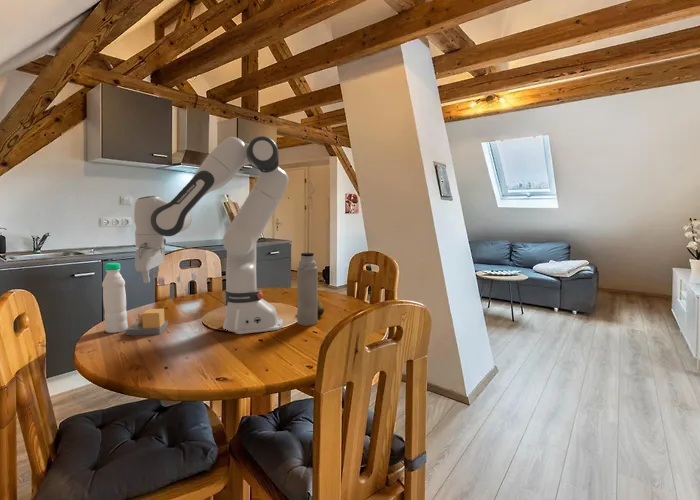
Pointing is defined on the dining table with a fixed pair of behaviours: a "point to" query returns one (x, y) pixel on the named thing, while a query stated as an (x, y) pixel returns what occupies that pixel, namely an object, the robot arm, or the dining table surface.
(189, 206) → the robot arm
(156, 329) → the plate
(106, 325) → the white milk bottle
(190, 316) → the dining table surface
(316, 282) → the thermos bottle
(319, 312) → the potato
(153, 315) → the wooden cube
